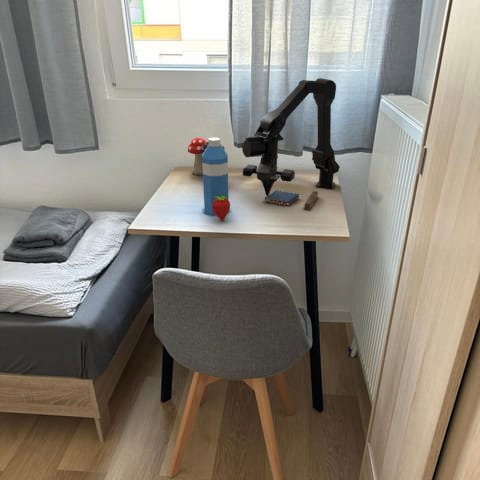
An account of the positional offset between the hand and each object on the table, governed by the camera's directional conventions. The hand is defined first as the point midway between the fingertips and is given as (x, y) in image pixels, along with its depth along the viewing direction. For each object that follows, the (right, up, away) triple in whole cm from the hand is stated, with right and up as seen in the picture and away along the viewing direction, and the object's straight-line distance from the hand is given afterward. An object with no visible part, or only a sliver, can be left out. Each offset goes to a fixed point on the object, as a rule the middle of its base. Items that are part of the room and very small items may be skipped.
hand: (267, 195), depth 185 cm
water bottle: (-19, -8, -9) cm, 23 cm away
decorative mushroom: (-28, +16, +28) cm, 43 cm away
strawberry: (-17, -13, -17) cm, 27 cm away
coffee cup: (-22, +11, +20) cm, 31 cm away
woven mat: (+5, -2, -1) cm, 6 cm away
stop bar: (+16, -4, -4) cm, 17 cm away
